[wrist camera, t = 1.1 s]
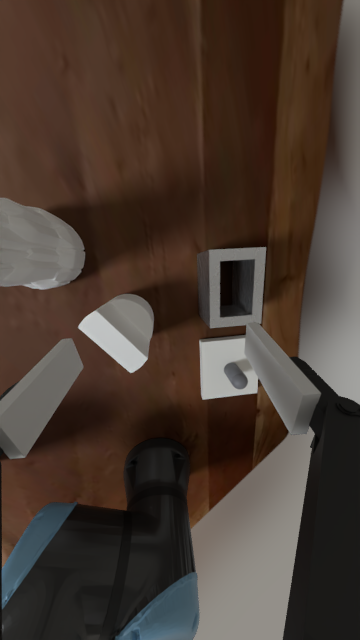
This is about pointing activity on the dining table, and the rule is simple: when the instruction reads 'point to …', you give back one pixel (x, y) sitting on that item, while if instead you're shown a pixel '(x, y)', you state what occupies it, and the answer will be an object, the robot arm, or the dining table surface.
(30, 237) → the decorative vase
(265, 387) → the robot arm
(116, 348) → the cylinder with rectangular tab
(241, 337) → the keeper board
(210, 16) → the dining table surface
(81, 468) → the dining table surface
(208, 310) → the steel link
